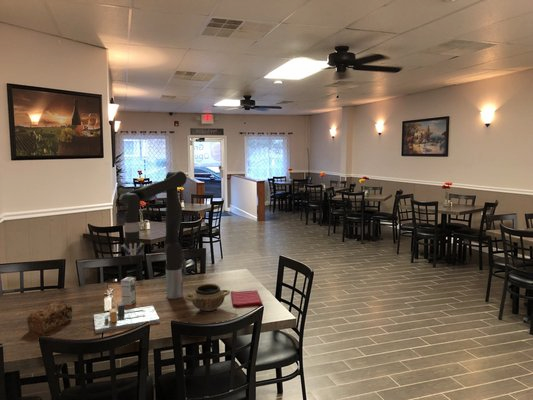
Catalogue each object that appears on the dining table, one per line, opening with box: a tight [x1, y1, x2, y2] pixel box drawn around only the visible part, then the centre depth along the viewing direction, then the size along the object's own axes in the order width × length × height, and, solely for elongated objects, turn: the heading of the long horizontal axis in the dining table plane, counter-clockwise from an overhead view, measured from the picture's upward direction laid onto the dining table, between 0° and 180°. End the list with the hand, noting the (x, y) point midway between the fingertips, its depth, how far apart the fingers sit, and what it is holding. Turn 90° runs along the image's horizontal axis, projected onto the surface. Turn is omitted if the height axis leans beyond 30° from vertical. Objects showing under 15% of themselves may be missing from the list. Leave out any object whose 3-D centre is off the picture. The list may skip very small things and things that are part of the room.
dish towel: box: [230, 290, 264, 308], centre depth 239 cm, size 17×24×3 cm
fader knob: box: [108, 308, 117, 323], centre depth 203 cm, size 3×5×5 cm, turn 25°
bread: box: [27, 300, 73, 334], centre depth 203 cm, size 19×11×10 cm, turn 160°
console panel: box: [93, 301, 160, 334], centre depth 209 cm, size 30×20×7 cm, turn 115°
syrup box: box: [120, 276, 137, 306], centre depth 233 cm, size 6×6×14 cm
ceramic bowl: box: [184, 283, 231, 314], centre depth 222 cm, size 24×18×15 cm
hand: (133, 261), depth 221 cm, fingers closed
